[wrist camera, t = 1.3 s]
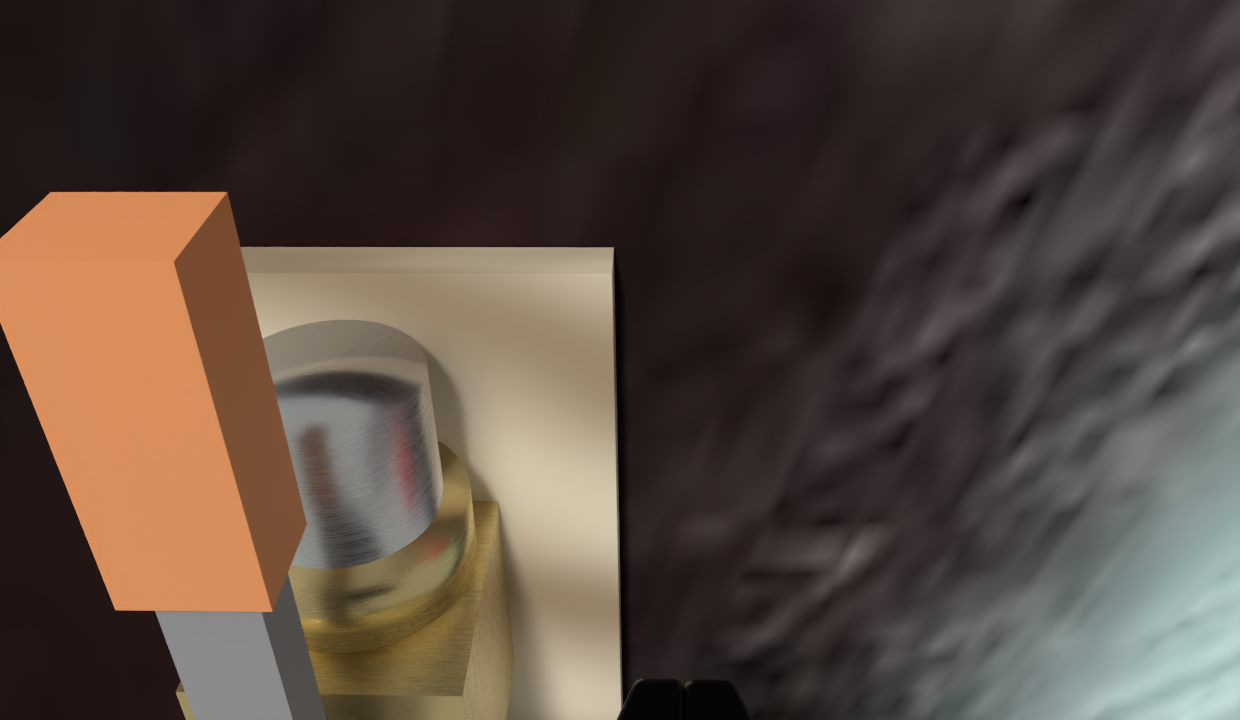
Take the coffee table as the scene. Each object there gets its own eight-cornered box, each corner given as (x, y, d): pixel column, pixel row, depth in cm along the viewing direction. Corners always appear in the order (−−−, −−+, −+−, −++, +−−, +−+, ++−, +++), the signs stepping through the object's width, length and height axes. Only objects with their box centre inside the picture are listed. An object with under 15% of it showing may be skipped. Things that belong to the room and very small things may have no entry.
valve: (528, 759, 28) (498, 1023, 23) (340, 756, 28) (267, 1018, 23) (482, 306, 20) (420, 546, 15) (224, 305, 21) (71, 542, 15)
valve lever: (407, 879, 20) (390, 968, 18) (268, 876, 20) (240, 965, 18) (253, 191, 12) (203, 262, 11) (25, 192, 12) (-53, 261, 11)
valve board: (624, 767, 29) (623, 800, 28) (261, 761, 30) (249, 793, 29) (614, 247, 20) (611, 273, 19) (92, 246, 21) (69, 272, 20)
